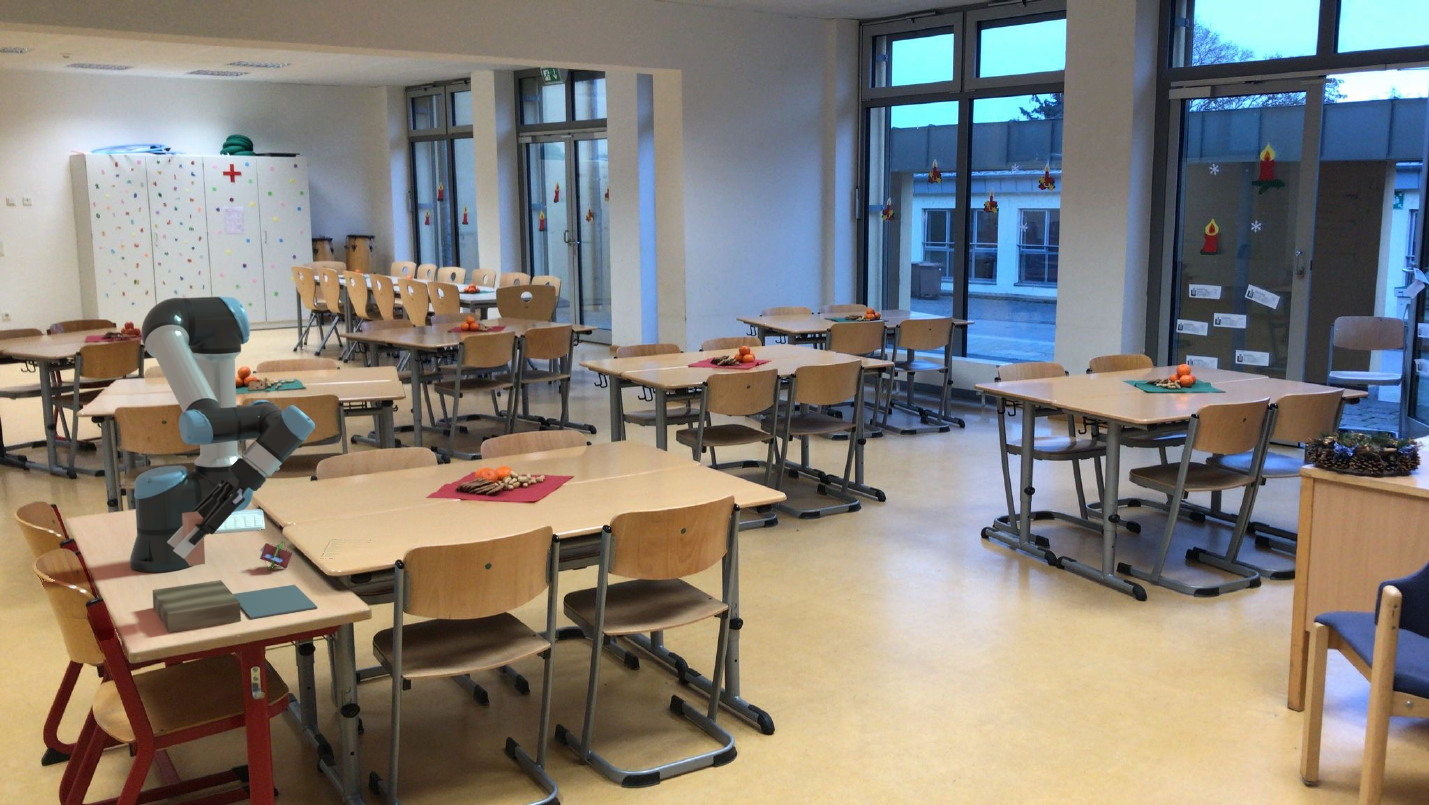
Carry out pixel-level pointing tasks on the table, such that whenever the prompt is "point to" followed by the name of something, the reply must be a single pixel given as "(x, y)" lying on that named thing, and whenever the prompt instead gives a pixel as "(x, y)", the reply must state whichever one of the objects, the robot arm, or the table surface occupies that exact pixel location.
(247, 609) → the mat
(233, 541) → the table surface
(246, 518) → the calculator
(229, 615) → the brown flat block
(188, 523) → the salmon pink brick
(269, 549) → the geometric puzzle
